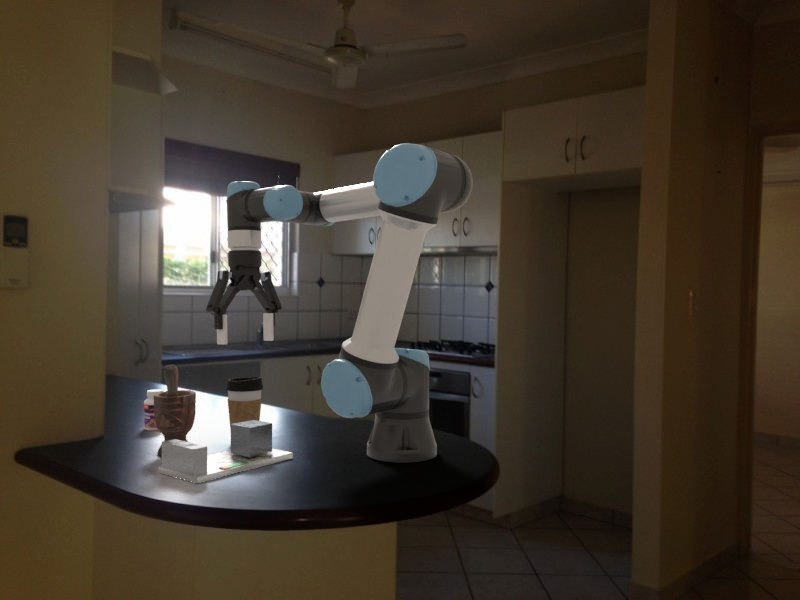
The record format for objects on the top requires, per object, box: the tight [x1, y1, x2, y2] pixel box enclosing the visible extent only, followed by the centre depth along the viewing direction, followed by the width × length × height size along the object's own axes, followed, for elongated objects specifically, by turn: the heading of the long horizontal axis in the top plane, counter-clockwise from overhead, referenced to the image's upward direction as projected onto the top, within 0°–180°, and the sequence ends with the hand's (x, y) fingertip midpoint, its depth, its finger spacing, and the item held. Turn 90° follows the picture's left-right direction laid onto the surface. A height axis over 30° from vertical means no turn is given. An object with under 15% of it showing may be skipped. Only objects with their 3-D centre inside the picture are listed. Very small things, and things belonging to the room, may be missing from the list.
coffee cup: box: [225, 376, 264, 429], centre depth 160 cm, size 8×8×15 cm
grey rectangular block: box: [230, 420, 273, 457], centre depth 143 cm, size 8×6×6 cm
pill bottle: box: [143, 388, 165, 432], centre depth 174 cm, size 5×5×10 cm
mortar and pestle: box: [154, 364, 197, 457], centre depth 147 cm, size 12×9×20 cm
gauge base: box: [158, 439, 294, 484], centre depth 139 cm, size 12×24×6 cm, turn 143°
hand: (246, 342), depth 159 cm, fingers open, 13 cm apart
